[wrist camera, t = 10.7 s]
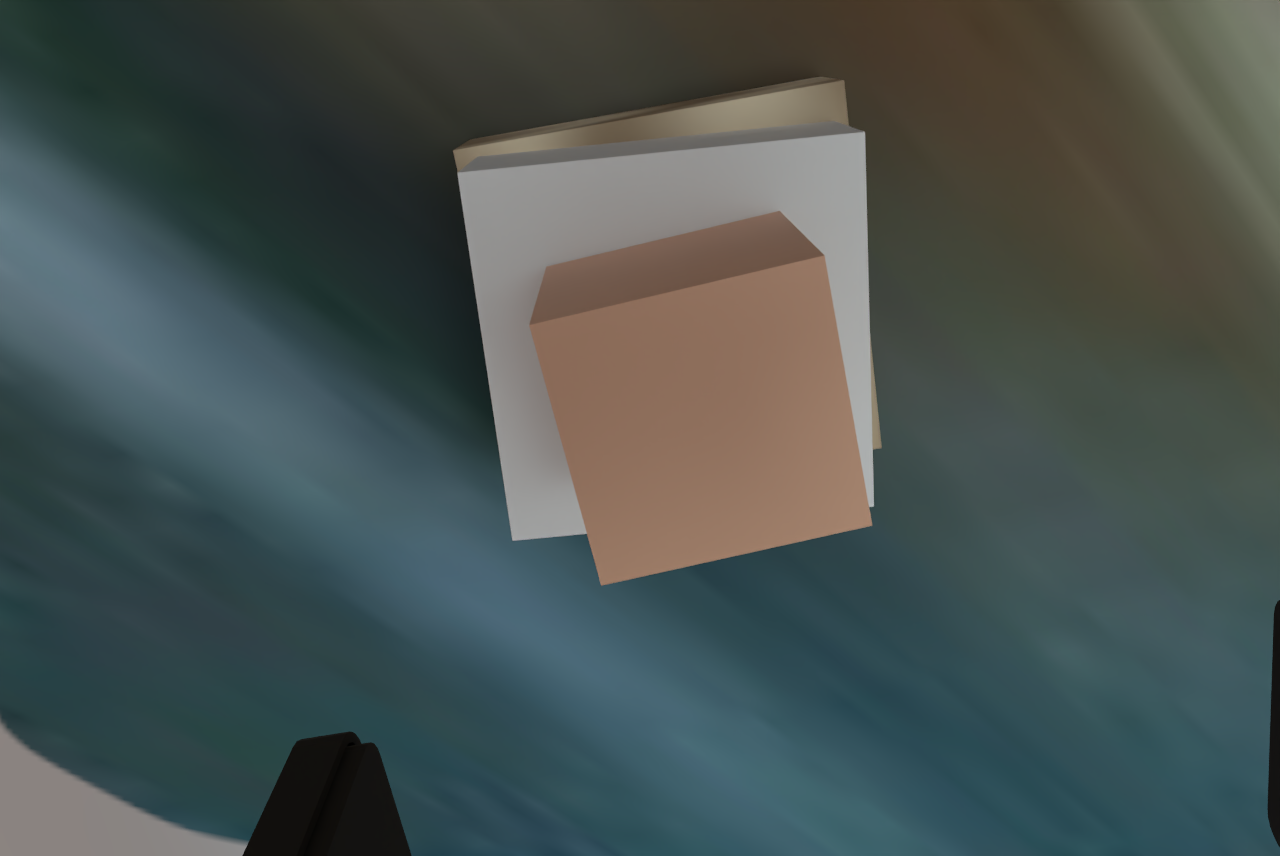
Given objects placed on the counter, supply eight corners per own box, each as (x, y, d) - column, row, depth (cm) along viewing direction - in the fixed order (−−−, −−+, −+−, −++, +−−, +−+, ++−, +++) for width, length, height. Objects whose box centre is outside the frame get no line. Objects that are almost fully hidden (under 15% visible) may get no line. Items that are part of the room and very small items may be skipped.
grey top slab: (833, 120, 30) (865, 131, 26) (844, 454, 33) (874, 506, 30) (477, 156, 30) (457, 172, 26) (524, 484, 33) (512, 540, 30)
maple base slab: (818, 75, 33) (844, 80, 30) (854, 406, 37) (881, 448, 33) (471, 138, 34) (453, 150, 30) (541, 459, 37) (532, 505, 34)
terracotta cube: (779, 210, 27) (824, 255, 21) (821, 430, 29) (871, 525, 23) (546, 266, 27) (529, 325, 21) (603, 480, 29) (601, 585, 23)
